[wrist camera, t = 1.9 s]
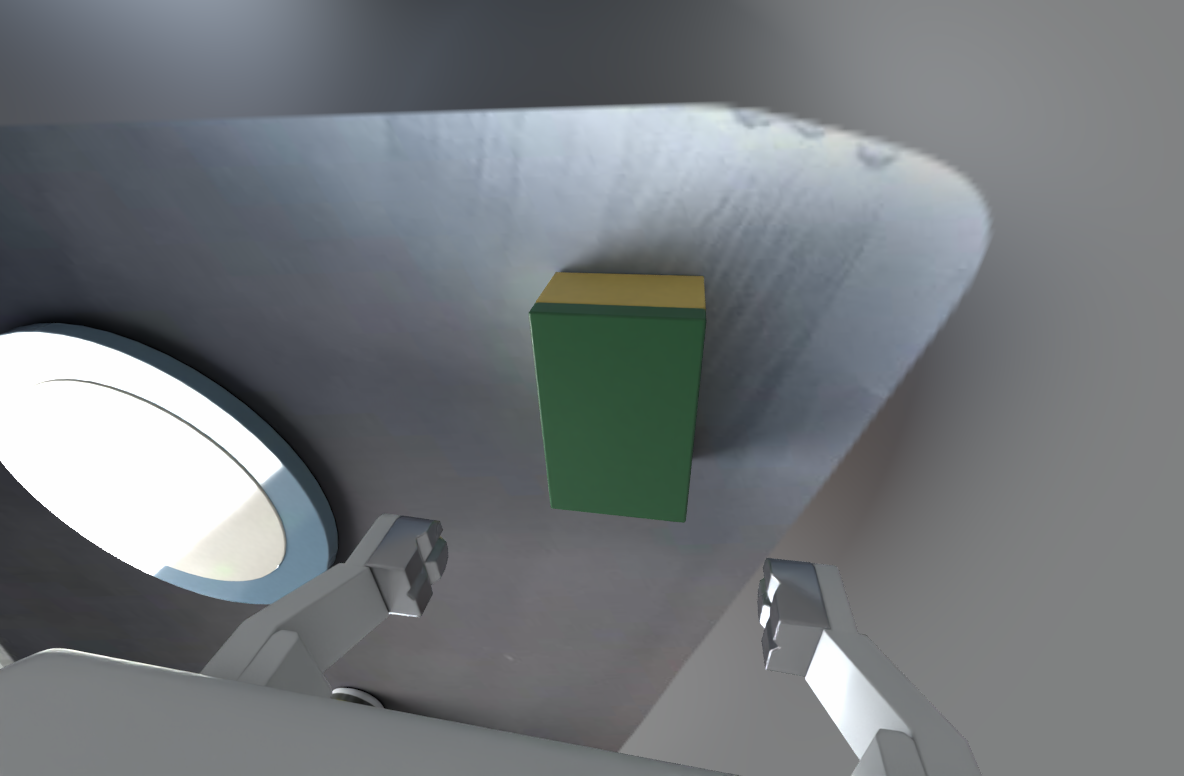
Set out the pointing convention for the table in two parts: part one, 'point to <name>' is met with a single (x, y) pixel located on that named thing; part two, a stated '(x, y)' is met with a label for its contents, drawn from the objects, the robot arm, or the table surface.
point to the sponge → (619, 390)
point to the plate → (159, 465)
